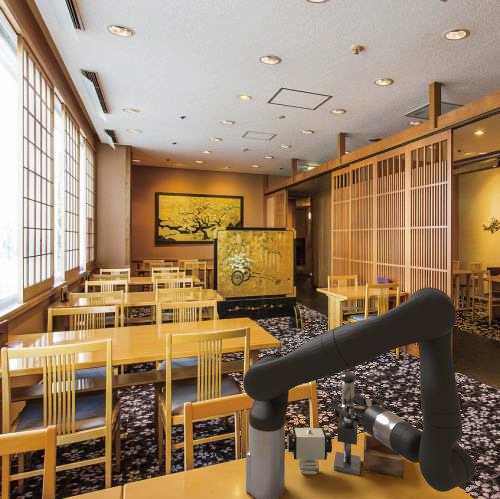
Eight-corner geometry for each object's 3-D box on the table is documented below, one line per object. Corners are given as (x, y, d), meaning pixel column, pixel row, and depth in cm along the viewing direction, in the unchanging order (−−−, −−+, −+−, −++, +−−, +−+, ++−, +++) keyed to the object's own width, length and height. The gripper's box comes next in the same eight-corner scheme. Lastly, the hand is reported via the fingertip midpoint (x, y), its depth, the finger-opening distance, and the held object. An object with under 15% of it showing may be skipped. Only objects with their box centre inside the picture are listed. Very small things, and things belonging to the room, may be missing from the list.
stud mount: (333, 469, 98) (333, 431, 98) (335, 455, 104) (336, 419, 104) (359, 475, 96) (360, 436, 95) (360, 460, 102) (360, 424, 102)
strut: (337, 441, 98) (337, 376, 98) (339, 431, 103) (339, 370, 103) (356, 444, 97) (357, 379, 96) (357, 435, 102) (358, 372, 101)
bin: (363, 470, 98) (363, 452, 97) (364, 450, 107) (364, 434, 107) (403, 478, 94) (403, 460, 94) (400, 457, 104) (400, 440, 104)
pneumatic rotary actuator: (332, 477, 95) (332, 433, 95) (288, 476, 95) (288, 432, 95) (327, 464, 100) (328, 422, 100) (286, 463, 100) (287, 422, 100)
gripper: (408, 406, 89) (363, 383, 104) (363, 417, 83) (323, 390, 98) (407, 436, 89) (363, 408, 104) (363, 448, 84) (323, 417, 99)
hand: (344, 399), depth 101 cm, fingers open, 8 cm apart
